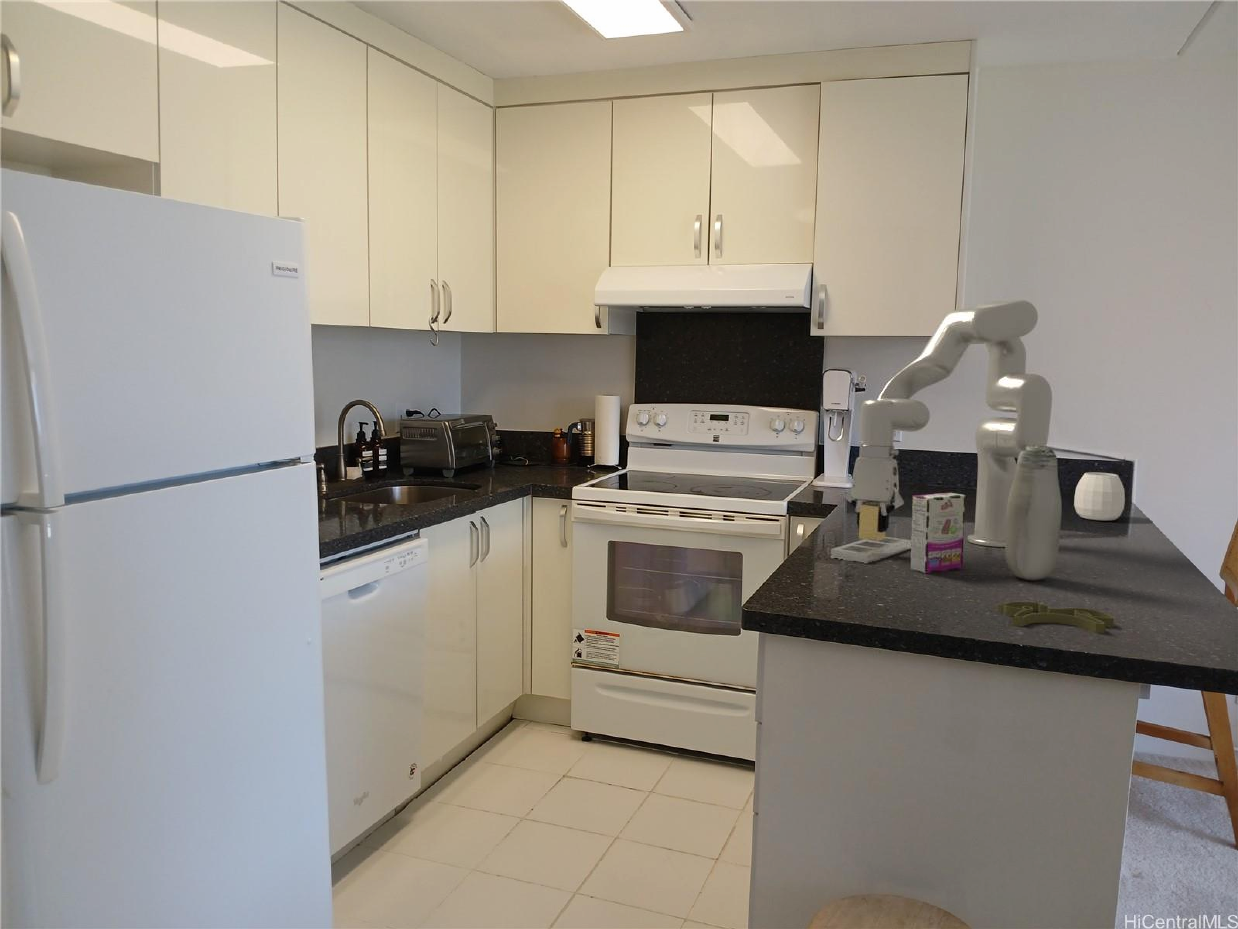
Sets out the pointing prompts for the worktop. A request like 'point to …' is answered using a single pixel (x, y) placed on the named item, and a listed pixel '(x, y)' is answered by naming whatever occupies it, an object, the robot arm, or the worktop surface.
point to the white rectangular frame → (870, 549)
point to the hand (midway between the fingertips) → (872, 529)
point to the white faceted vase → (1099, 496)
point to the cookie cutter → (1056, 615)
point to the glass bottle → (1034, 515)
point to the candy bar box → (937, 532)
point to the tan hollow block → (870, 522)
